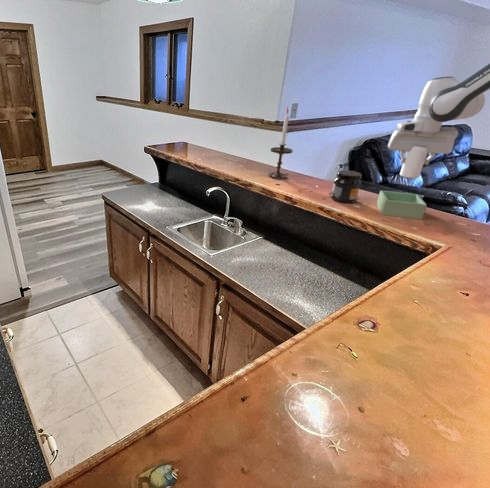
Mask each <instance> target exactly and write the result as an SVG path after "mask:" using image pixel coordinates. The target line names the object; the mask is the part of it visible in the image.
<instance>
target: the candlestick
mask: <svg viewBox="0 0 490 488" xmlns="http://www.w3.org/2000/svg"><path fill="white" fill-rule="evenodd" d="M289 119H290V117H289V108H288V106H287V107H286V114H285V116H284V119H283V120H284V121H283V127H282V132H281V139H280V143H278V145H279V146H278V147H271V148H270V152H271V153H274V154H278V155H279V156H278V161H276V164H277V166H276V167H275V168H276V171H275V172H270V173H268V177H269V176H270V177H269V178H271V177H274V178H285V177H286V178H287V174H284V173H282V172H281V171H280V170H281V168H282V165H283V161H282V158H283V155H288V154H292V153H293V149H292V148H288V147H285V146H287V144H286V138H287V137H286V136H287V131H288V124H289ZM274 178H273V179H274ZM286 178H285V179H286Z"/></svg>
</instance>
